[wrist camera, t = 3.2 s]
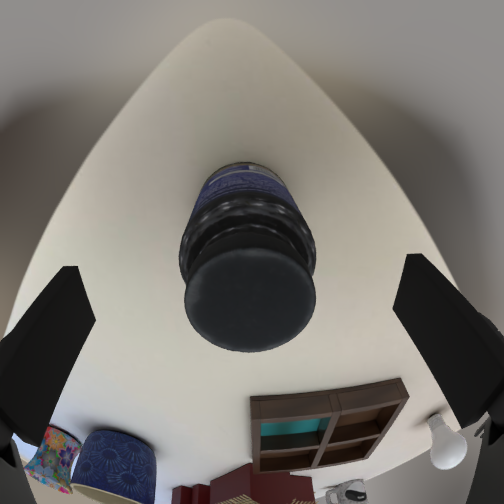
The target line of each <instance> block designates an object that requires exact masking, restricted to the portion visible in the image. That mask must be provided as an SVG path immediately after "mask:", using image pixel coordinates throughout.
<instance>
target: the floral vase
mask: <svg viewBox="0 0 504 504" xmlns="http://www.w3.org/2000/svg"><path fill="white" fill-rule="evenodd" d="M81 449H82V448H81V446H80V444H79V443H78V442H77V441H76V440H74V439H73V438H72V437H70V436H69V435H67V434H66V433H64V432H62V431H60V430H58V429H55V428H52V427H47V430H46V433H45V435H44V438H43V441H42V444H41V446H40V448H39V447H38V449H37V452H36V454H35V455H34V457H33V458H32V460H31V461H30V462H29V463H28V464H27V465H26V466H25V467H24V471H25V472H26V473H27V474H28V475H30V476H31V477H33V478H34V479H36V480H38V481H39V482H41V483H43V484H45V485H47V486H49V487H51V488H53V489H55V490H58V491H60V492H63V493H67V494H72V493H73V492H72V488H71V486H70V482H71V467H72V464H73V461H74V459H75V457H76V456H77V455H78V454H79V453H80V452H81Z"/></svg>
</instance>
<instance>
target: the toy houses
mask: <svg viewBox="0 0 504 504" xmlns="http://www.w3.org/2000/svg"><path fill="white" fill-rule="evenodd" d="M314 493H316V492H314V491H313V485H312V479H311V477H303V476H293V475H290V473H289V472H283V473H270V474H253V464H252V463H248V464H246V465H244V466H242V467H240V468H238V469H236V470H234V471H232V472H230V473H228V474H226V475H224V476H222V477H219V478H217V479H215V480H213V481H210V486H207V485H202V484H197V485H195V486H193V488H189V487H185V486H179V487H177V488H175V489H173V491H172V502H171V504H316V503H317V502H316V503H315V497H314Z"/></svg>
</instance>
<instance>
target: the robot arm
mask: <svg viewBox="0 0 504 504" xmlns="http://www.w3.org/2000/svg"><path fill="white" fill-rule="evenodd" d="M393 311H394V312H395V314H396V315H397V317H398V318H399V320H400V321H401V323H402V325H403V326H404V328H405V329H406V331H407V333H408V334H409V336H410V337H411V339H412V341H413V342H414V344H415V345H416V347H417V349H418V350H419V352H420V354H421V355H422V357H423V359H424V360H425V362H426V364H427V366H428V367H429V369H430V371H431V372H432V374H433V376H434V378H435V379H436V381H437V383H438V385H439V387H440V388H441V390H442V392H443V394H444V396H445V398H446V399H447V401H448V403H449V405H450V407H451V409H452V411H453V413H454V415H455V416H456V418H457V420H458V422H459V424H460V426H461V428H462V429H463V428H465V427H467V426H469V425H471V424H473V423H476V422H477V421H478V420H479V419H480V418H481V417H482V416H483V415H484V413H485V412H486V411H487V412H488V414H489V415H490V416H489V417H488V419H487V420H486V421H485V422H484V423H483V424H482V425H481V426H480V428H479V429H478V430H477V431H476V433H475V435H474V436H475V437H476V436H478V435H479V434H480V433H481V431H482V430H483V429H484V433H483V434H482V435H481V436H480V438H483V439H482V445H481V449H480V454H479V459H478V463H477V467H476V471H475V475H474V478H473V482H472V485H471V489H470V492H469V495H468V498H467V501H466V504H504V336H503V335H502V334H501V332H500V331H498V329H497V328H496V326H495V325H494V324H493V323H492V322H491V321H490V320H489V319H488V318H486V317H485V316H484V315H482V314H481V313H478V312H477V311H476V309H475V308H474V307H473V306H472V305H471V304H470V303H469V302H468V301H467V300H466V298H465V297H464V296H463V295H462V294H461V293H460V292H459V291H458V290H457V289H456V288H455V287H454V285H453V284H452V283H451V282H450V281H449V280H448V279H447V278H446V277H445V276H444V275H443V274H442V273H441V272H440V271H439V270H438V269H437V268H436V267H435V266H434V265H433V264H432V263H431V262H430V261H429V260H428V259H427V258H426V257H425V256H424V255H423V254H422V253H419V254H407V256H406V260H405V264H404V268H403V272H402V276H401V280H400V284H399V288H398V291H397V295H396V298H395V302H394V305H393ZM95 321H96V319H95V316H94V313H93V311H92V308H91V305H90V302H89V300H88V297H87V294H86V291H85V288H84V285H83V282H82V278H81V275H80V272H79V269H78V266H63V267H62V268H61V269H60V270H59V271H58V273H57V274H56V275H55V276H54V277H53V279H52V280H51V281H50V282H49V283H48V285H47V286H46V287H45V288H44V289H43V291H42V292H41V293H40V294H39V296H38V297H37V298H36V299H35V301H34V302H33V303H32V304H31V306H30V307H29V308H28V310H27V311H26V312H25V314H24V315H23V316H22V318H21V319H20V320H19V322H18V323H17V324H16V326H15V327H14V329H13V330H12V331H11V332H10V333H9V334H8V335H7V336H5V337H4V338H3V339H2V340H1V342H0V504H37V503H36V501H35V498H34V496H33V493H32V491H31V488H30V485H29V483H28V480H27V477H26V474H25V471H24V468H23V465H22V462H21V459H20V456H19V452H18V449H17V445H16V443H15V441H14V440H13V439H12V436H13V433H15V434H16V435H17V436H18V437H19V438H20V439H21V440H22V441H23V442H25V443H28V444H31V445H33V446H36V447H39V448H40V446H41V444H42V441H43V438H44V435H45V433H46V430H47V427H48V425H49V422H50V419H51V417H52V414H53V412H54V409H55V407H56V404H57V402H58V400H59V397H60V395H61V393H62V390H63V388H64V386H65V383H66V381H67V379H68V377H69V375H70V372H71V370H72V368H73V366H74V364H75V362H76V359H77V357H78V355H79V353H80V351H81V349H82V347H83V345H84V343H85V341H86V339H87V337H88V335H89V333H90V331H91V329H92V327H93V325H94V323H95Z"/></svg>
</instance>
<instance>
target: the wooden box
mask: <svg viewBox="0 0 504 504" xmlns="http://www.w3.org/2000/svg"><path fill="white" fill-rule="evenodd" d="M409 397H410V396H409V394H408V392H407V390H406V388H405V386H404V384H403V382H402V379H401V378H398V379H393V380H389V381H384V382H378V383H373V384H367V385H362V386H356V387H349V388H342V389H335V390H328V391H320V392H311V393H301V394H289V395H276V396H258V397H250V408H251V436H252V462H253V474H270V473H283V472H293V471H302V470H309V469H317V468H323V467H329V466H335V465H341V464H346V463H351V462H356V461H360V460H365V459H368V458H369V456H370V455H371V454H372V452H373V451H374V450H375V448H376V447H377V446H378V444H379V443H380V442H381V440H382V439H383V437H384V436H385V434H386V433H387V432H388V430H389V429H390V427H391V426H392V424H393V423H394V421H395V420H396V418H397V417H398V415H399V413H400V412H401V410H402V409H403V407H404V405H405V404H406V402H407V400H408V399H409Z"/></svg>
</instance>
